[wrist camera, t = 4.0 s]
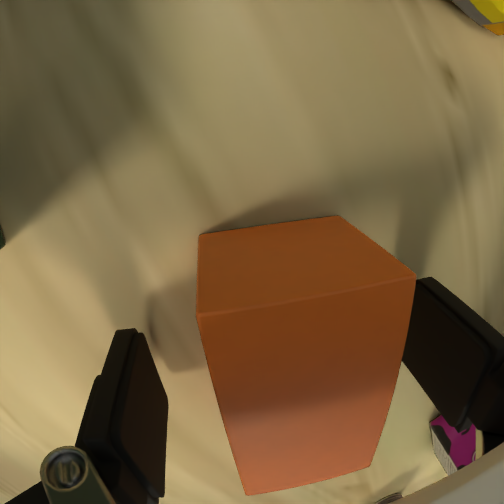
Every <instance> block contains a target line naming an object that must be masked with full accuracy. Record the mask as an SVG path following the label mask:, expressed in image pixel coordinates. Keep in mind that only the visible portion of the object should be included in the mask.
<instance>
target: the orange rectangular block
mask: <svg viewBox="0 0 504 504" xmlns="http://www.w3.org/2000/svg"><path fill="white" fill-rule="evenodd" d="M415 285H416V274H415V273H414V272H413V271H412V270H410V269H409V268H408V267H406V266H405V265H404V264H403V263H401V262H400V261H399V260H398V259H396V258H395V257H394V256H393V255H391V254H390V253H389V252H387V251H386V250H385V249H383V248H382V247H381V246H380V245H378V244H377V243H376V242H374V241H373V240H372V239H370V238H369V237H368V236H366V235H365V234H364V233H362V232H361V231H360V230H358V229H357V228H356V227H354V226H353V225H351V224H350V223H349V222H347V221H346V220H345V219H343V218H342V217H340V216H338V215H337V216H330V217H322V218H314V219H307V220H299V221H291V222H284V223H277V224H270V225H262V226H255V227H248V228H241V229H234V230H227V231H221V232H214V233H207V234H201V235H199V240H198V263H197V294H196V318H197V323H198V327H199V331H200V335H201V340H202V344H203V348H204V352H205V356H206V360H207V364H208V368H209V372H210V376H211V379H212V383H213V387H214V391H215V395H216V398H217V402H218V405H219V409H220V413H221V416H222V420H223V423H224V427H225V430H226V433H227V437H228V440H229V444H230V447H231V450H232V453H233V457H234V460H235V463H236V466H237V469H238V473H239V476H240V479H241V482H242V485H243V488H244V491H245V494H246V495H248V496H249V495H256V494H262V493H268V492H274V491H279V490H284V489H289V488H294V487H298V486H303V485H307V484H311V483H315V482H319V481H323V480H327V479H331V478H334V477H338V476H341V475H345V474H348V473H351V472H354V471H358V470H361V469H364V468H367V467H369V466H370V465H371V462H372V459H373V456H374V454H375V451H376V448H377V445H378V442H379V439H380V436H381V433H382V430H383V427H384V424H385V420H386V417H387V414H388V410H389V407H390V404H391V400H392V396H393V393H394V389H395V385H396V381H397V377H398V373H399V369H400V365H401V361H402V356H403V352H404V347H405V342H406V338H407V333H408V327H409V322H410V316H411V311H412V305H413V298H414V292H415Z"/></svg>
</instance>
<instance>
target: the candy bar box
mask: <svg viewBox="0 0 504 504" xmlns="http://www.w3.org/2000/svg"><path fill="white" fill-rule="evenodd" d="M430 431H431V433H432V444H433V450H434V453H435V454H436V456H437V458H438V460H439V461H440V463H441V465H442V466H443V468H444V470H445V471H446V473H447V474H448V476H449V475H451V474H453V473H454V472H456V471H458V470H460V469H462V468H463V467H465V466H467V465H469V464H470V463H472V462H474V461H475V457H476V427H475V426H474V425H473V424H472V425H471V427H469V428H468V429H466V430H464V431H462V432H460V433H458V432H457V431H456V429H455V428H454V427H451V426H449V425H448V423H447V422H446V421H445V419H444V418H443V416H442V415H440V416H439V417H437V418H436V419H434V420H433V421H432V422H430Z"/></svg>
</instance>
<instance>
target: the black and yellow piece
mask: <svg viewBox="0 0 504 504" xmlns="http://www.w3.org/2000/svg"><path fill="white" fill-rule="evenodd" d="M451 1H452V2H453V3H454V4H455V5H457V6H458V7H459V8H460V9H461V10H462V11H463V12H464V13H465V14H466V15H467V16H469V17H470V18H471V19H473V20H474V21H475V22H476V23H477V24H479V25H480V26H482V27H484V28H487V29H488V30H490V31H492V32H493V33H495V34H496V35H504V0H451Z"/></svg>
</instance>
